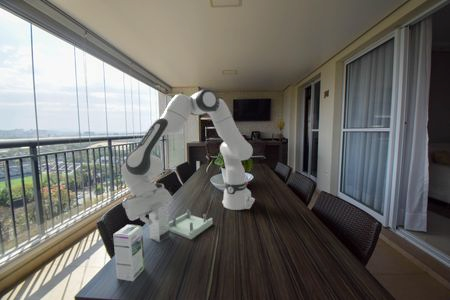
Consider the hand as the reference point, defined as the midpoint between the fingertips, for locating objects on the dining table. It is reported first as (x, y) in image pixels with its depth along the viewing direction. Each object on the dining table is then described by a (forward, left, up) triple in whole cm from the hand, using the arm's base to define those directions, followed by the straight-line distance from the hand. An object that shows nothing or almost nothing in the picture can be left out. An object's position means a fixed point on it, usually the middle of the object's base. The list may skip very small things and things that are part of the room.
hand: (159, 219), depth 77 cm
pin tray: (-13, +4, -8) cm, 16 cm away
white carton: (0, -1, -8) cm, 8 cm away
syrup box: (+18, +8, -8) cm, 21 cm away
